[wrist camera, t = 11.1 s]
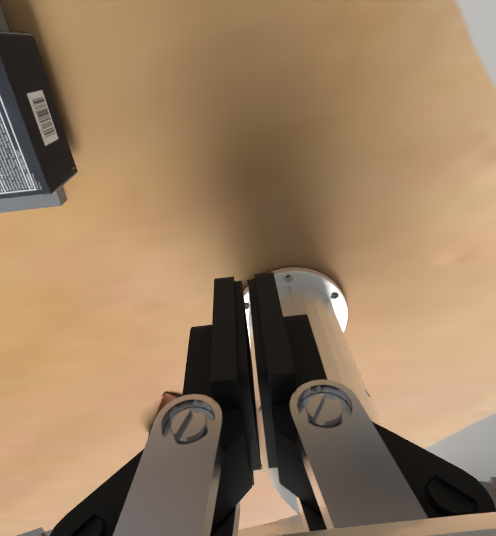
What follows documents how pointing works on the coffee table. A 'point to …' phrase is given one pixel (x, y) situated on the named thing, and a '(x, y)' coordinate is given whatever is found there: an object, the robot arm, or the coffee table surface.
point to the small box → (29, 123)
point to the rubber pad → (35, 200)
